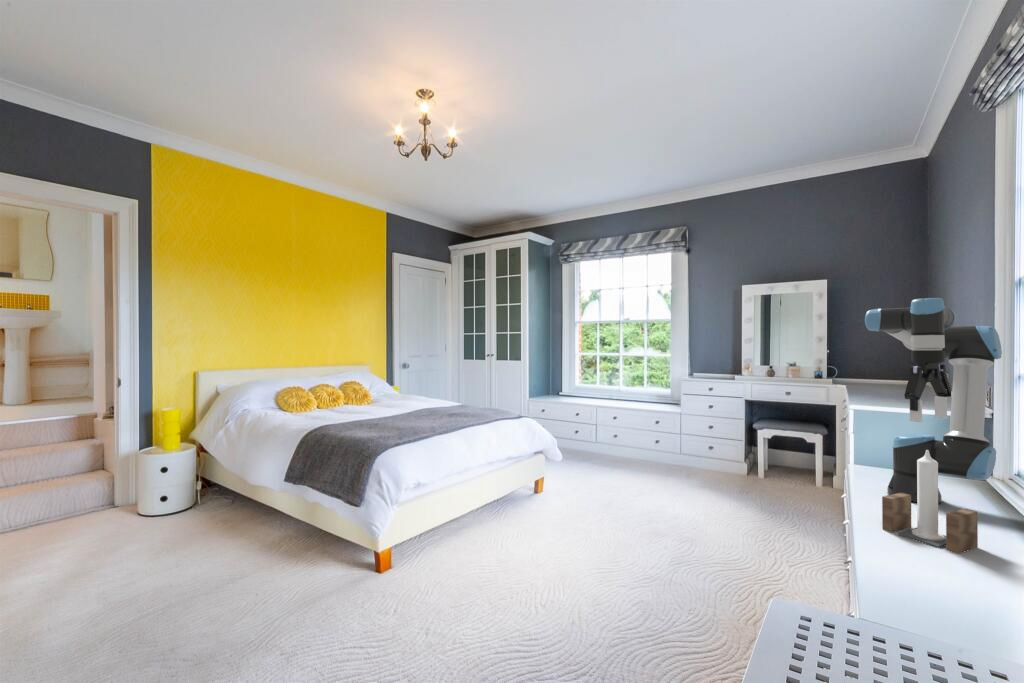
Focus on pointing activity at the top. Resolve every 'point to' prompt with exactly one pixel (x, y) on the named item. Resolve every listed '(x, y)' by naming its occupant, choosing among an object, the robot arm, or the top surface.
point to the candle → (927, 499)
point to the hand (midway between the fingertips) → (928, 419)
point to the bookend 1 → (896, 512)
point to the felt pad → (934, 543)
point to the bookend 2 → (961, 530)
